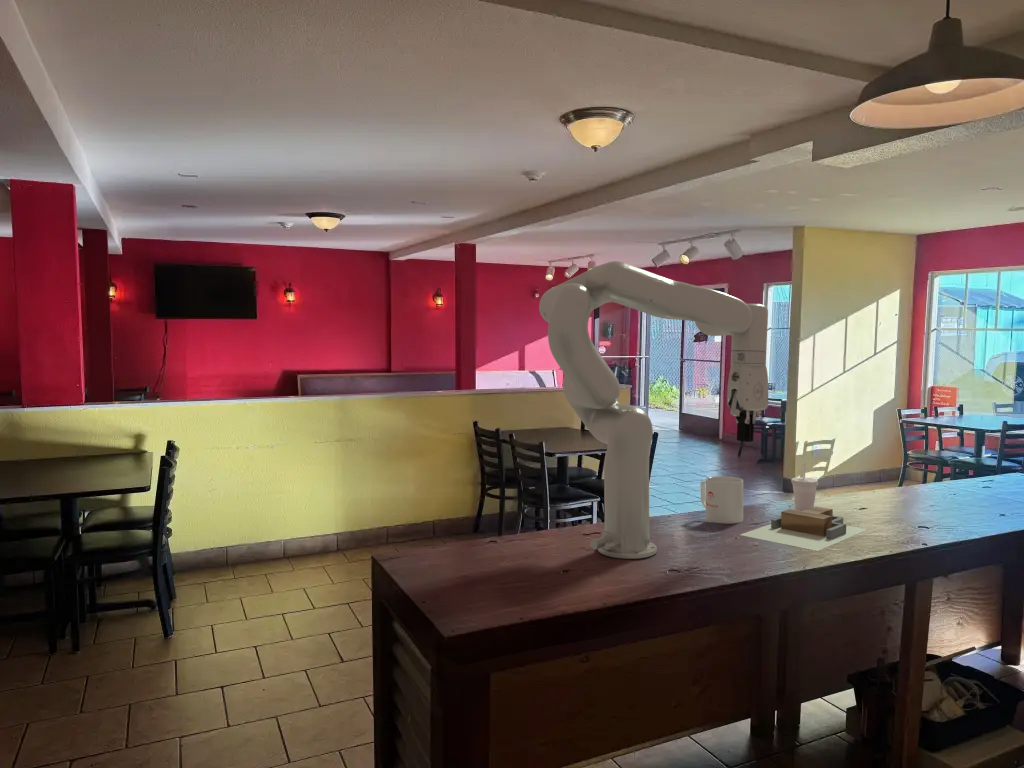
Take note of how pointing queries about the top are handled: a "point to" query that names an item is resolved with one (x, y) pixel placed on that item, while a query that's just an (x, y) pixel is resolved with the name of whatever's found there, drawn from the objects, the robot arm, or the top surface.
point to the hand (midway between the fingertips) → (744, 440)
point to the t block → (808, 520)
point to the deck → (805, 535)
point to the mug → (723, 499)
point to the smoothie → (804, 491)
